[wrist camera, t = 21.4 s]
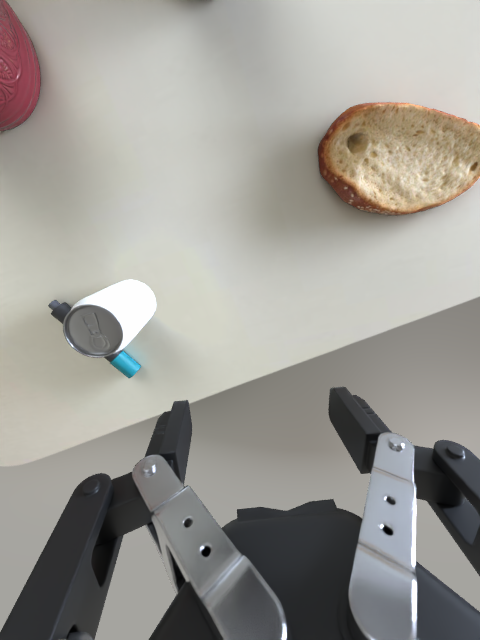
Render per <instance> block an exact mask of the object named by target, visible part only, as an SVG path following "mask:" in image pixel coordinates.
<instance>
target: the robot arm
mask: <svg viewBox="0 0 480 640" xmlns="http://www.w3.org/2000/svg"><path fill="white" fill-rule="evenodd" d="M329 417H330V420H331V423H332V424H333V426H334V428H335V430H336V431H337V433H338V435H339V437H340V438H341V440H342V442H343V443H344V445H345V447H346V449H347V450H348V452H349V453H350V455H351V457H352V459H353V461H354V462H355V464H356V466H357V468H358V469H359V471H360V473H361V474H365V473H370V474H371V477H370V482H369V487H368V493H367V498H366V503H365V508H364V513H363V518H360V517H359V516H357V515H355V514H353V513H351V512H349V511H346V510H343V509H339V508H337V507H336V505H335V503H334V500H333V499H330V500H321V501H312V502H308V503H305V504H303V505H301V506H298V507H296V508H293V509H291V510H288V511H283V510H276V509H270V508H264V507H257V508H247V509H237V517H238V518H237V519H235V520H233V521H231V522H230V523H228V524H226V525H225V526H224V527H222V528H221V527H220V526H219V525H218V523H217V522H216V520H215V519H214V518H213V516H212V515H211V514H210V512H209V511H208V510H207V508H206V507H205V506H204V504H203V503H202V501H201V500H200V499H199V498H198V496H197V495H196V493H195V492H194V491H193V489H192V488H191V487H190V486H186V487H184V480H185V474H186V467H187V461H188V455H189V449H190V442H191V436H192V422H191V416H190V410H189V402H188V400H185V401H174V403H173V406H172V410H171V411H168V412H164V413H163V414H162V415H161V416H160V417H159V419H158V421H157V424H156V428H155V429H154V432H153V435H152V438H151V441H150V444H149V447H148V449H147V452H146V455H145V458H143V459H142V460H140V461H139V462H138V463H137V464H136V465H135V467H134V468H133V471H132V472H130V473H128V474H126V475H123V476H121V477H118V478H115V479H113V480H111V478H110V477H109V476H108V475H107V474H102V473H100V474H95V475H93V476H90V477H88V478H87V479H85V480H84V481H82V482H81V483H80V484H79V485H78V486H77V488H76V489H75V490H74V492H73V494H72V496H71V498H70V500H69V502H68V504H67V505H66V507H65V509H64V511H63V513H62V515H61V517H60V519H59V521H58V523H57V525H56V527H55V528H54V530H53V533H52V534H51V536H50V538H49V540H48V542H47V544H46V546H45V548H44V550H43V552H42V554H41V555H40V557H39V559H38V561H37V563H36V565H35V567H34V569H33V571H32V573H31V575H30V576H29V579H28V580H27V582H26V585H25V586H24V588H23V590H22V592H21V594H20V596H19V598H18V599H17V601H16V603H15V605H14V607H13V609H12V611H11V613H10V615H9V617H8V619H7V621H6V623H5V624H4V626H3V628H2V630H1V632H0V640H94V639H95V635H96V632H97V628H98V625H99V621H100V617H101V614H102V610H103V607H104V603H105V600H106V596H107V592H108V589H109V585H110V582H111V578H112V574H113V571H114V567H115V564H116V560H117V557H118V553H119V549H120V546H121V542H122V538H123V535H124V534H126V533H128V532H131V531H133V530H135V529H137V528H139V527H142V526H144V525H146V527H147V529H148V532H149V534H150V536H151V538H152V540H153V542H154V544H155V546H156V548H157V551H158V553H159V555H160V557H161V559H162V561H163V564H164V566H165V569H166V572H167V575H168V577H169V580H170V582H171V584H172V587H173V589H174V591H175V593H176V597H175V599H174V600H173V602H172V603H171V605H170V606H169V608H168V610H167V611H166V613H165V614H164V616H163V618H162V619H161V621H160V623H159V624H158V625H157V627H156V629H155V630H154V632H153V633H152V635H151V637H150V638H149V640H480V612H479V611H478V610H476V609H475V608H474V607H473V606H471V605H470V604H469V603H468V602H467V601H465V600H464V599H463V598H462V597H460V596H459V595H458V594H457V593H455V592H454V591H453V590H452V589H450V588H449V587H448V586H447V585H445V584H444V583H443V582H442V581H440V580H439V579H438V578H437V577H435V576H434V575H433V574H432V573H430V572H429V571H428V570H426V569H425V568H424V567H423V566H422V565H420V564H419V563H418V562H416V561H415V550H416V549H415V548H416V543H415V542H416V498H417V499H422V500H426V501H427V502H428V503H429V505H430V506H431V507H432V509H433V510H434V512H435V513H436V515H437V516H438V517H439V519H440V520H441V522H442V523H443V525H444V526H445V527H446V529H447V530H448V532H449V533H450V534H451V536H452V537H453V539H454V540H455V542H456V543H457V544H458V546H459V547H460V549H461V550H462V552H463V553H464V554H465V556H466V557H467V559H468V560H469V561H470V563H471V564H472V566H473V567H474V569H475V570H476V571H477V573H478V574H479V576H480V460H479V459H478V458H477V457H476V456H475V455H474V454H473V453H472V452H471V451H470V450H468V449H467V448H465V447H464V446H462V445H460V444H458V443H455V442H452V441H448V440H440V441H437V442H436V443H435V445H434V449H432V448H425V447H419V446H414V445H413V444H412V443H411V442H410V441H409V440H408V439H407V438H405V437H403V436H402V435H399V434H397V433H392V432H391V431H390V430H389V429H388V427H387V426H386V425H385V424H384V423H383V422H382V420H381V419H380V418H379V417H378V416H377V414H375V412H374V411H373V410H372V409H371V408H370V406H369V405H368V404H367V403H366V402H365V400H363V399H361V398H360V397H358V396H357V395H351V393H350V392H349V391H348V390H347V388H346V387H336V388H331V389H330V396H329ZM471 504H472V505H471Z"/></svg>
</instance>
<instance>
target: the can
mask: <svg viewBox="0 0 480 640" xmlns="http://www.w3.org/2000/svg"><path fill="white" fill-rule="evenodd" d="M155 309H156V299H155V296H154V294H153V292H152V291H151V289H150V288H149V287H148V286H146V285H145V284H144V283H142V282H139V281H136V280H124V281H121V282H119V283H116V284H114V285H112V286H110V287H107V288H105V289H103V290H101V291H98V292H96V293H94V294H92V295H90V296H88V297H86V298H84V299H82V300H80V301H79V302H77V303H76V304H75V305H74V306H73V307H72V309H71V310H70V311H69V313H68V314H67V315H66V317H65V319H64V322H63V332H64V336H65V338H66V340H67V342H68V343H69V344H70V346H71V347H72V348H73V349H75V350H76V351H77V352H79V353H81V354H83V355H85V356H88V357H93V358H101V357H106V356H109V355H111V354H113V353H116V352H118V351H120V350H122V349H123V348H124V347H126V346H127V345H128V344H129V342H130V341H131V340H132V339H133V338H134V337H135V336H136V335H137V333H138V332H139V331H140V330H141V329H142V328H143V327H144V325H145V324H146V323H147V322H148V321H149V320H150V318H151V317H152V316H153V314H154V312H155Z"/></svg>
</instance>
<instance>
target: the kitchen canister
mask: <svg viewBox="0 0 480 640" xmlns="http://www.w3.org/2000/svg"><path fill="white" fill-rule="evenodd" d="M39 93H40V68H39V63H38V58H37V55H36V52H35V49H34V46H33V44H32V41H31V39H30V37H29V35H28V33H27V31H26V30H25V28H24V26H23V25H22V23H21V22H20V21H19V19H18V17H17V16H16V14H15V12H14V11H13V10H12V8H11V7H10V5H9V4H8V3H7V2H6V0H0V131H4V130H9V129H12V128H14V127H17V126H18V125H20V124H21V123H23V122H24V121H25V120H26V119H27V118H28V117H29V116H30V115H31V113H32V112H33V110H34V108H35V106H36V103H37V101H38V97H39Z"/></svg>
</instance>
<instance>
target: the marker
mask: <svg viewBox="0 0 480 640" xmlns="http://www.w3.org/2000/svg"><path fill="white" fill-rule="evenodd" d="M48 306H49V307H50V308H51V309H52V310H53V311H52V313H51V315H53V316H54V317H55V318H56V319H58V320H59V321H60V322H61V323H62V324H63V322H64V319H65V317H66V315H67V314H68V313H69V311H70V310H71V309H72V308H71V307H70V306H69V305H68V304H67V303H62V304H60V303H59V302H58V301H56V300H54V301H52V302H51V303H50V304H49V305H48ZM104 358H106V359H107V360H108V361H109V362H110V363H111V364H112V365H113V366H114V367H116V368H117V369H118V370H119V371H120V372H122V373H123V374H124V375H125V376H127V377H128V378H131V377H132V376H133V375H134V374H135V373H136V372H137V371H138V370H139V369H140V367H141V366H140V365H139V364H138V363H137V362H136V361H134V360H133V359H132V358H131V357H130V356H129V355H127V354H126V353H125V352H124V351H122V350H120V351H118V352H116V353H113V354H111V355H109V356H106V357H104Z"/></svg>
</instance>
